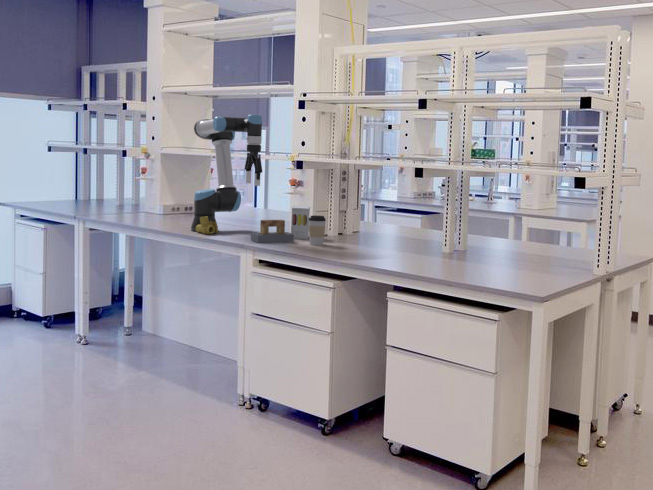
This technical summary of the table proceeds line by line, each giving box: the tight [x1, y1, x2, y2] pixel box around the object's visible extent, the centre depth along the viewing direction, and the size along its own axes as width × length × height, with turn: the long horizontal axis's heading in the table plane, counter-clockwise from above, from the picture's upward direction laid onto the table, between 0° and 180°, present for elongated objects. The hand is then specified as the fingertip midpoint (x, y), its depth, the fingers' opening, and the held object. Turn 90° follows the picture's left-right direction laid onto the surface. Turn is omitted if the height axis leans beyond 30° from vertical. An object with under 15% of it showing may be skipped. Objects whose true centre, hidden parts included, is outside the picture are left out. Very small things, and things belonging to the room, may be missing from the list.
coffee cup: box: [309, 215, 327, 246], centre depth 372 cm, size 9×9×15 cm
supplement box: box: [290, 205, 311, 240], centre depth 396 cm, size 10×9×17 cm
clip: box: [259, 219, 286, 235], centre depth 379 cm, size 12×4×11 cm, turn 116°
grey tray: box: [250, 231, 295, 244], centre depth 379 cm, size 20×10×4 cm, turn 116°
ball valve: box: [195, 216, 219, 235], centre depth 402 cm, size 13×10×10 cm
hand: (252, 184), depth 386 cm, fingers open, 13 cm apart
